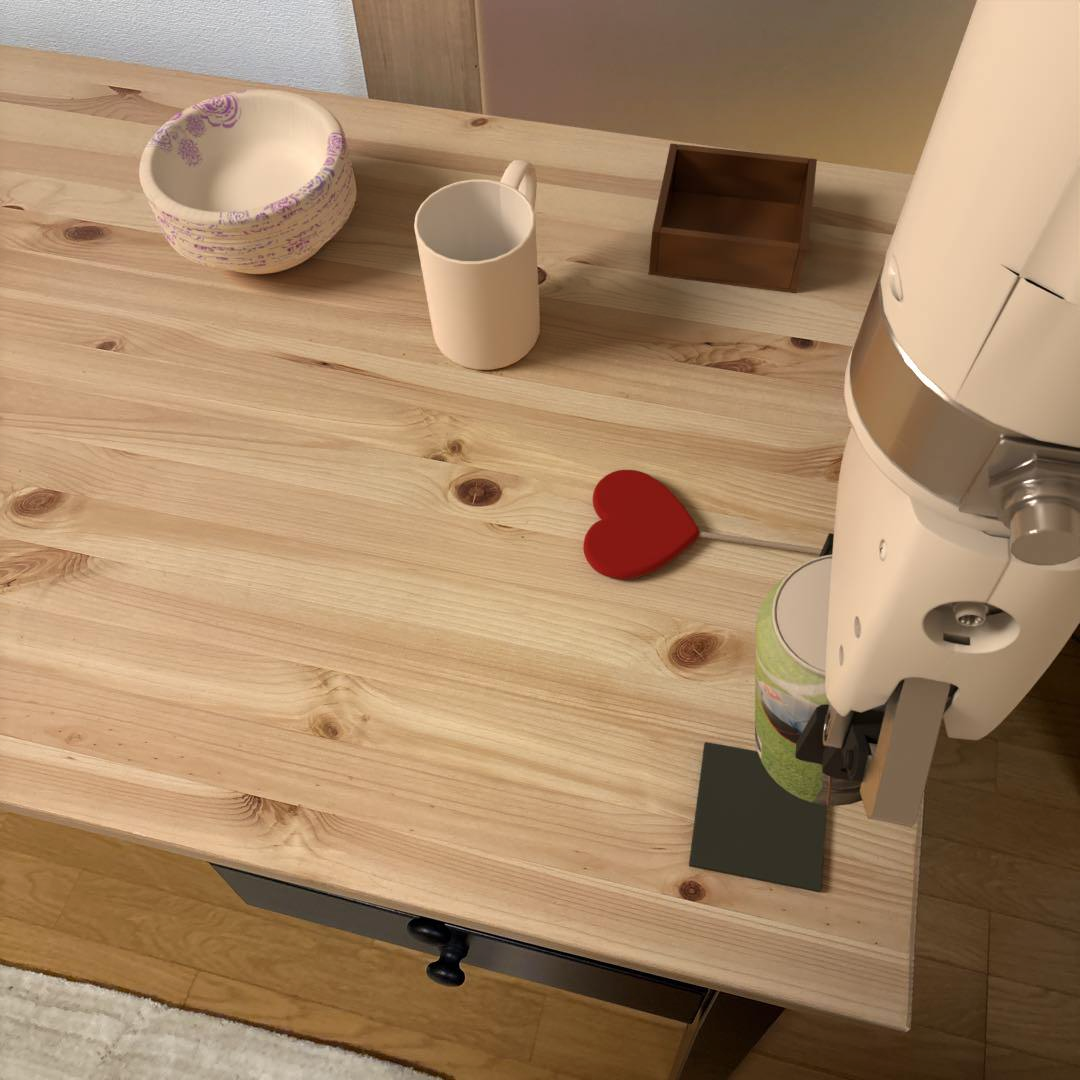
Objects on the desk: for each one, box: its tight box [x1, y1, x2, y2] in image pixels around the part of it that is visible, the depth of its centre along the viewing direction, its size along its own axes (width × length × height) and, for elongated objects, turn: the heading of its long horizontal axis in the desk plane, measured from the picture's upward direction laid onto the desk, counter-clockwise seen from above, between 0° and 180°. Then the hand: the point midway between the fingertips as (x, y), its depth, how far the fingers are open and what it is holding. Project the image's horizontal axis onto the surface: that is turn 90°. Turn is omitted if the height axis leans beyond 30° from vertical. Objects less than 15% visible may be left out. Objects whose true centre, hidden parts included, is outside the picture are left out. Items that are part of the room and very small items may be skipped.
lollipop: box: [582, 469, 822, 580], centre depth 64 cm, size 8×1×15 cm
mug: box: [413, 159, 541, 371], centre depth 70 cm, size 12×8×10 cm, turn 156°
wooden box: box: [648, 142, 818, 294], centre depth 76 cm, size 11×10×4 cm
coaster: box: [688, 741, 828, 893], centre depth 55 cm, size 7×7×1 cm
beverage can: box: [754, 555, 887, 807], centre depth 39 cm, size 6×7×12 cm
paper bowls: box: [138, 88, 357, 275], centre depth 77 cm, size 15×15×8 cm
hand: (844, 672), depth 38 cm, fingers closed on beverage can, 6 cm apart
